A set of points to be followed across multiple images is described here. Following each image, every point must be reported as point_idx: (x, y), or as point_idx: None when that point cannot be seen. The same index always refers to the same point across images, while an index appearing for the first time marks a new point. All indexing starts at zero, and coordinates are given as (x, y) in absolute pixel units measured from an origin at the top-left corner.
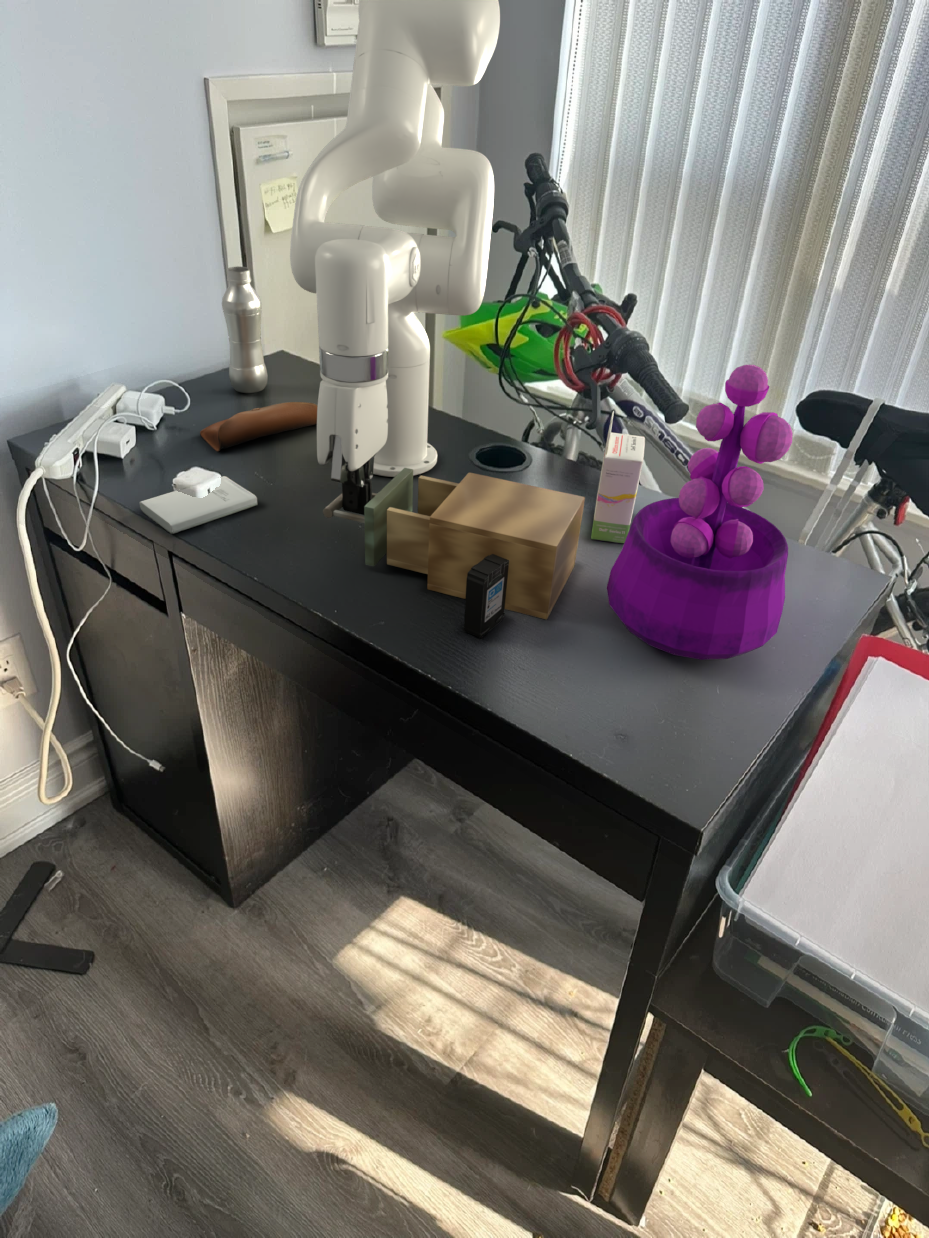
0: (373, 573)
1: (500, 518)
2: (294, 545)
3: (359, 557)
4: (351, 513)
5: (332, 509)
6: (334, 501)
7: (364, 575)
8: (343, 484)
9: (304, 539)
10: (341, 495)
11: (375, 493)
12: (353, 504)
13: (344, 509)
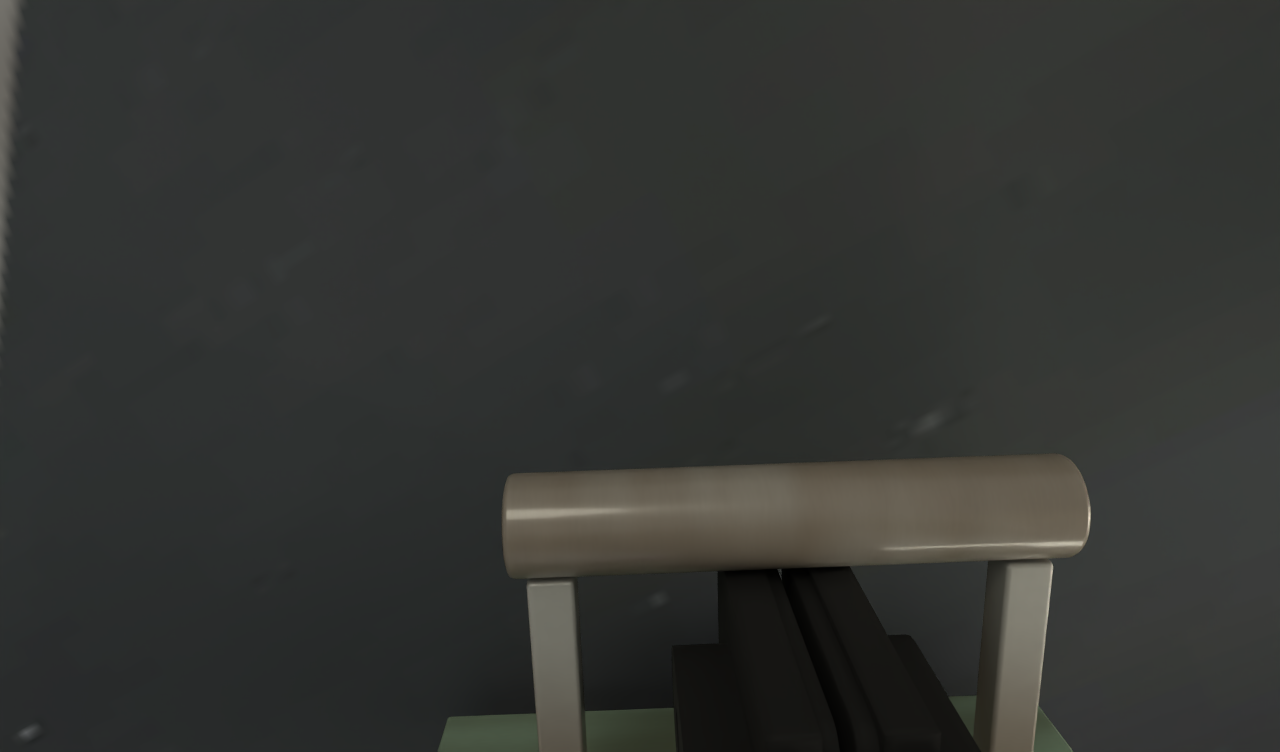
0: None
1: None
2: (496, 151)
3: None
4: (581, 730)
5: (540, 576)
6: (673, 534)
7: (414, 701)
8: (760, 726)
9: (603, 171)
10: (820, 535)
11: (1032, 735)
12: (677, 734)
13: None
